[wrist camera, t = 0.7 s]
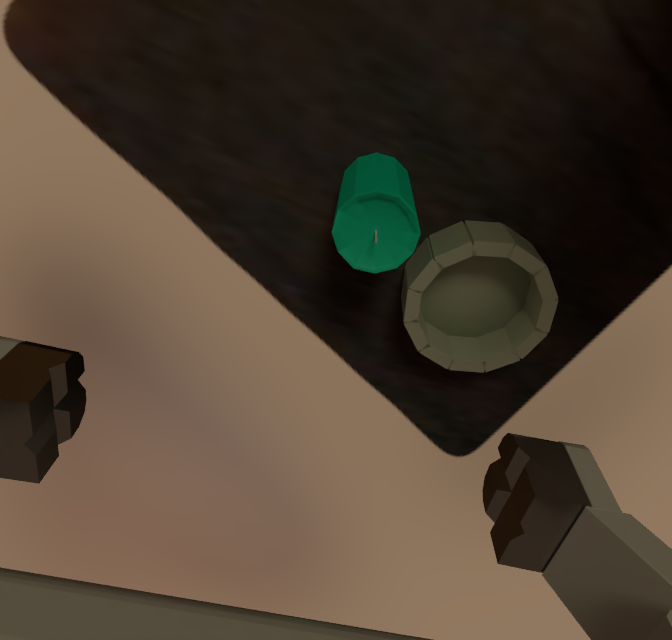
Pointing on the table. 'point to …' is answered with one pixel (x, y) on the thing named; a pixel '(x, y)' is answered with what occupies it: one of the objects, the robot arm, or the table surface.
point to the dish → (477, 297)
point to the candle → (375, 215)
